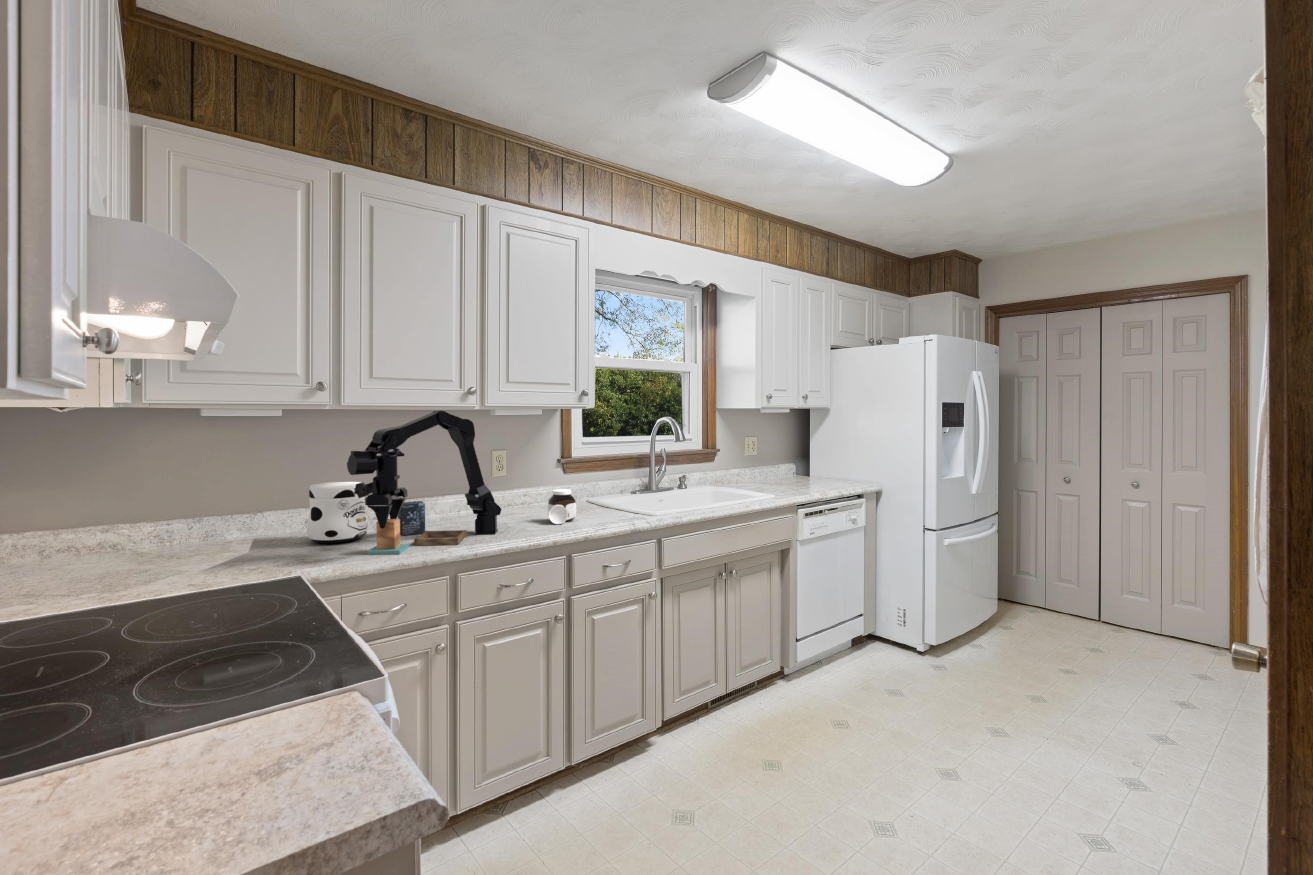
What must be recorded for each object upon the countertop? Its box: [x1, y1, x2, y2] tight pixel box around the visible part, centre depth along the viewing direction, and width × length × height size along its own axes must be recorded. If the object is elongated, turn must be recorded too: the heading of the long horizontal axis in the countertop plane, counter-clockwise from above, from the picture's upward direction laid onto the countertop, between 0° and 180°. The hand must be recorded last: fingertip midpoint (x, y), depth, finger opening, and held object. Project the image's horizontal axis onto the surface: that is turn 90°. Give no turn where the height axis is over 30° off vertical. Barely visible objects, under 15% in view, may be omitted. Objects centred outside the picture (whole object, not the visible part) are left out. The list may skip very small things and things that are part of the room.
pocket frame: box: [413, 529, 468, 547], centre depth 195 cm, size 13×13×2 cm
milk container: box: [306, 481, 369, 544], centre depth 195 cm, size 17×17×18 cm
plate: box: [366, 543, 410, 556], centre depth 181 cm, size 9×9×1 cm
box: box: [397, 500, 426, 537], centre depth 207 cm, size 8×6×11 cm
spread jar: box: [547, 488, 577, 525], centre depth 228 cm, size 12×11×12 cm
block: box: [375, 518, 401, 550], centre depth 181 cm, size 5×5×8 cm
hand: (387, 525), depth 181 cm, fingers open, 9 cm apart
